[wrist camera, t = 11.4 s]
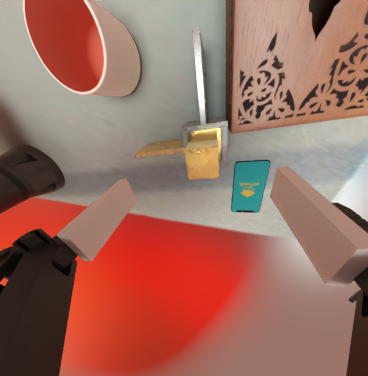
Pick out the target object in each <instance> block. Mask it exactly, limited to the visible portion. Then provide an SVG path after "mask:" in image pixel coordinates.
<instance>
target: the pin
mask: <svg viewBox="0 0 368 376" xmlns="http://www.w3.org/2000/svg"><path fill="white" fill-rule="evenodd" d="M184 154H185V160H186V166H187V172H188V178H189V179H205V178H219V159H218V141H217V131H216V130H210V131H203V132H196V133H194V135H193V136H192V138H191V140H190V141H189V143H188V145H187V146H186V148H185V150H184Z"/></svg>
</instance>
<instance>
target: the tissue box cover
mask: <svg viewBox="0 0 368 376" xmlns="http://www.w3.org/2000/svg"><path fill="white" fill-rule="evenodd" d="M367 115H368V0H226V119H227V120H228V128H229V130H230V132H231V133H239V132H247V131H254V130H262V129H269V128H277V127H284V126H292V125H299V124H307V123H314V122H322V121H329V120H337V119H344V118H352V117H359V116H367Z"/></svg>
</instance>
